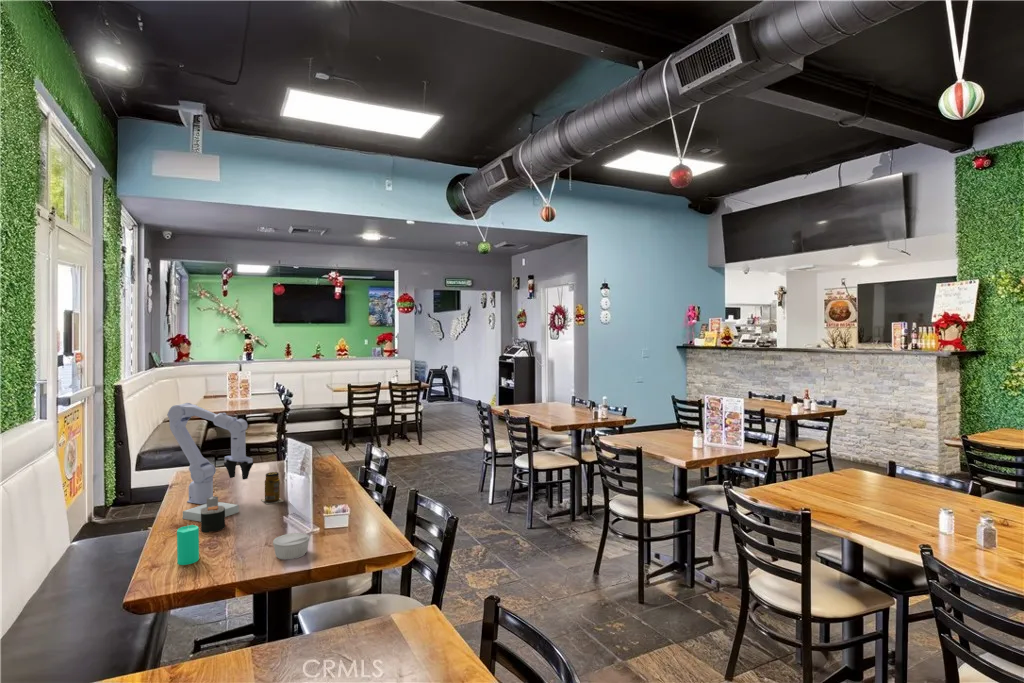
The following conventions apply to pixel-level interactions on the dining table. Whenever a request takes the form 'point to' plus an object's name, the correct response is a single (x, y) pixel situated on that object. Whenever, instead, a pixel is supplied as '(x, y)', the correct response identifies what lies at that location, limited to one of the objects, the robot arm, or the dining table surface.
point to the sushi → (212, 519)
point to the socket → (195, 512)
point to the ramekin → (291, 545)
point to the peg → (212, 501)
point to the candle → (187, 545)
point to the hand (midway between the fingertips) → (238, 478)
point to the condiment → (272, 488)
